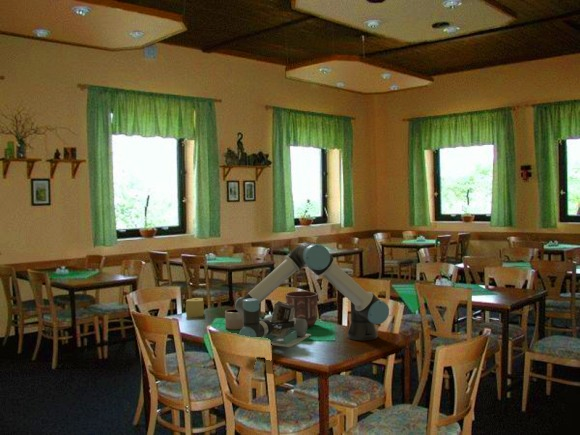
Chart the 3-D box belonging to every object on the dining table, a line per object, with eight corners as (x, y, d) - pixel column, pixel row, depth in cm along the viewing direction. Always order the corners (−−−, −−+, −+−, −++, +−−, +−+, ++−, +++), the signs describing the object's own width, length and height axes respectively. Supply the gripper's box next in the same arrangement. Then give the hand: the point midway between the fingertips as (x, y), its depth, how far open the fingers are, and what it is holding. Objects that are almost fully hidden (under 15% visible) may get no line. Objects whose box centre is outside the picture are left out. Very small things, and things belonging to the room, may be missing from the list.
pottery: (307, 320, 356) (306, 289, 355) (324, 326, 340) (323, 294, 339) (280, 324, 347) (279, 293, 346) (296, 331, 332) (295, 298, 330)
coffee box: (288, 335, 309) (295, 305, 307) (284, 339, 303) (291, 308, 301) (272, 330, 312) (278, 300, 309) (267, 333, 306) (274, 303, 303)
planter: (241, 330, 335) (241, 313, 334) (222, 329, 337) (222, 312, 336) (247, 325, 345) (246, 308, 345) (228, 325, 348) (228, 308, 347)
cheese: (186, 314, 380) (186, 298, 379) (204, 313, 381) (204, 297, 381) (185, 317, 370) (185, 301, 369) (204, 316, 371) (203, 300, 370)
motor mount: (310, 335, 320) (310, 314, 319) (289, 347, 299) (289, 323, 298) (278, 332, 329) (278, 311, 328) (256, 343, 307) (255, 320, 307)
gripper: (239, 333, 297) (261, 324, 316) (285, 339, 286) (305, 329, 305) (239, 318, 297) (261, 310, 316) (285, 323, 285) (305, 314, 304)
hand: (283, 319), depth 310 cm, fingers open, 13 cm apart
